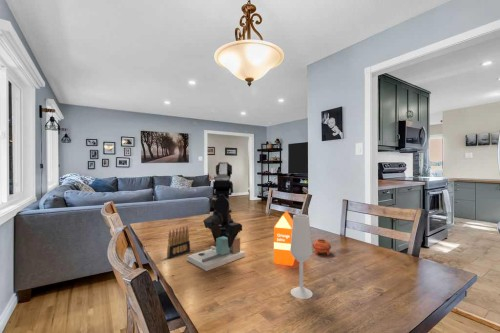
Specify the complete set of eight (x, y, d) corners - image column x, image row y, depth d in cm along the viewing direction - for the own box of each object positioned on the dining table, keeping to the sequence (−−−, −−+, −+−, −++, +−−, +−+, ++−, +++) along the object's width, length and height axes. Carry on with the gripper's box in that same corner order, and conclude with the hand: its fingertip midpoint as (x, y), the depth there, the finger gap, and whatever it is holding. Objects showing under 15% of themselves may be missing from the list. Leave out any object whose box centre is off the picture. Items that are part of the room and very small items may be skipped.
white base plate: (224, 248, 113) (224, 232, 113) (244, 256, 103) (244, 238, 103) (187, 260, 99) (187, 241, 99) (206, 271, 89) (206, 249, 89)
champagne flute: (288, 287, 77) (287, 213, 77) (308, 286, 77) (308, 213, 77) (293, 299, 70) (293, 218, 70) (315, 298, 70) (315, 217, 70)
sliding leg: (215, 248, 107) (215, 233, 107) (229, 253, 100) (229, 238, 100) (207, 250, 104) (207, 235, 104) (222, 256, 97) (221, 240, 97)
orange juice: (296, 257, 102) (295, 211, 102) (292, 265, 94) (292, 215, 94) (278, 255, 104) (277, 210, 104) (273, 263, 96) (273, 214, 96)
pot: (334, 252, 107) (333, 238, 106) (327, 261, 102) (326, 246, 101) (318, 247, 113) (317, 234, 112) (310, 255, 107) (308, 242, 106)
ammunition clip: (169, 258, 102) (169, 230, 102) (167, 257, 103) (166, 230, 103) (190, 251, 110) (189, 225, 110) (187, 250, 111) (187, 225, 111)
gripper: (194, 207, 101) (194, 244, 101) (221, 213, 88) (221, 255, 88) (215, 204, 109) (215, 238, 109) (243, 209, 95) (243, 248, 95)
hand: (222, 244), depth 100 cm, fingers open, 9 cm apart
